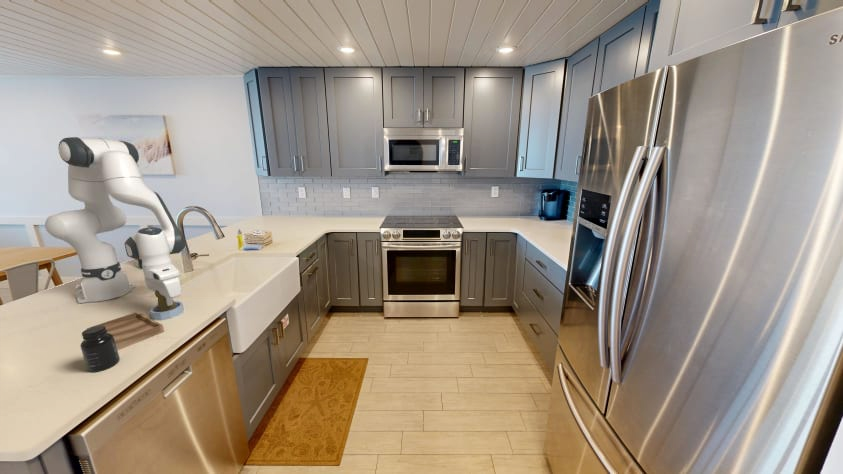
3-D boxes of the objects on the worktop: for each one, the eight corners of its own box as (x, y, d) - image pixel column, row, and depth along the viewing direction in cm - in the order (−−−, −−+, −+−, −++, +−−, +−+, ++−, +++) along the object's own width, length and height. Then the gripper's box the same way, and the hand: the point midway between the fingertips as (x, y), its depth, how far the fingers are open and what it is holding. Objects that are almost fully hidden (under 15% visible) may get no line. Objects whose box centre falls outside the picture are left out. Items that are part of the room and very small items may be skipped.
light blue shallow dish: (147, 316, 120) (145, 309, 120) (176, 305, 129) (175, 299, 128) (159, 322, 116) (157, 315, 115) (188, 311, 124) (187, 304, 123)
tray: (88, 335, 107) (86, 328, 107) (139, 317, 119) (137, 311, 119) (111, 352, 98) (109, 345, 97) (164, 331, 110) (162, 325, 109)
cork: (167, 318, 119) (161, 292, 116) (154, 316, 120) (148, 290, 117) (181, 311, 125) (176, 285, 122) (169, 309, 126) (164, 284, 123)
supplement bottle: (102, 358, 95) (92, 323, 92) (126, 357, 96) (117, 322, 93) (80, 373, 88) (69, 336, 85) (106, 372, 89) (95, 335, 86)
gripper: (136, 267, 120) (144, 300, 123) (161, 277, 110) (169, 312, 114) (156, 263, 125) (162, 294, 129) (181, 272, 116) (188, 305, 119)
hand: (166, 303), depth 121 cm, fingers closed on cork, 4 cm apart
